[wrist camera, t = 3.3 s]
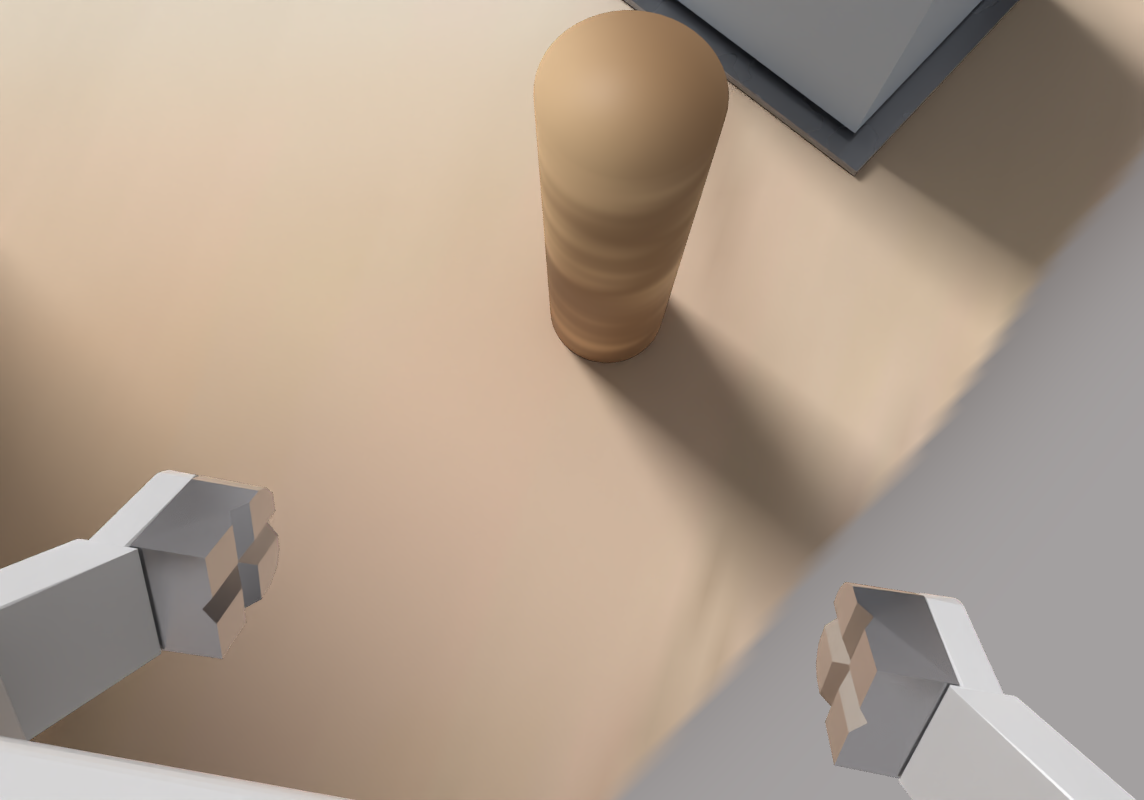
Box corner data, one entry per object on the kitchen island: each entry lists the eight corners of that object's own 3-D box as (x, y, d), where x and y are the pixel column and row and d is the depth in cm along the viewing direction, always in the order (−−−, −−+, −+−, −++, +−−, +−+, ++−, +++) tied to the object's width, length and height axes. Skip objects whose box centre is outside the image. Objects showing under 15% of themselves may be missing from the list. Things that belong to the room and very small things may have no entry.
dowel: (570, 377, 27) (567, 202, 15) (536, 275, 28) (509, 38, 16) (678, 343, 27) (757, 146, 15) (641, 244, 28) (689, -11, 16)
